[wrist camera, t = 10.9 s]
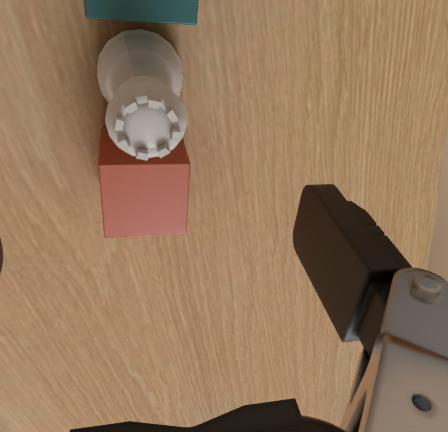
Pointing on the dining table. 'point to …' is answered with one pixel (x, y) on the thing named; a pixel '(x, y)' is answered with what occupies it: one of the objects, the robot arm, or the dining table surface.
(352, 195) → the dining table surface
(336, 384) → the dining table surface
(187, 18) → the teal block
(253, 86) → the dining table surface
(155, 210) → the terracotta block
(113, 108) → the rook chess piece
